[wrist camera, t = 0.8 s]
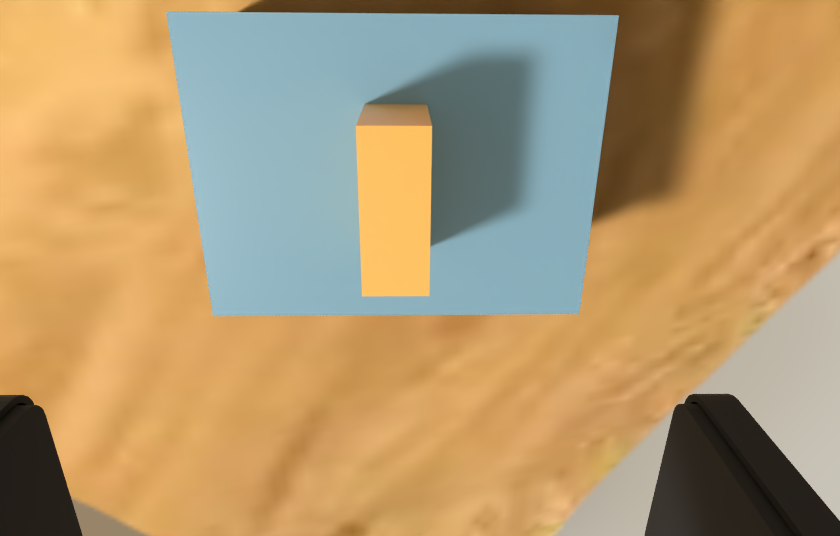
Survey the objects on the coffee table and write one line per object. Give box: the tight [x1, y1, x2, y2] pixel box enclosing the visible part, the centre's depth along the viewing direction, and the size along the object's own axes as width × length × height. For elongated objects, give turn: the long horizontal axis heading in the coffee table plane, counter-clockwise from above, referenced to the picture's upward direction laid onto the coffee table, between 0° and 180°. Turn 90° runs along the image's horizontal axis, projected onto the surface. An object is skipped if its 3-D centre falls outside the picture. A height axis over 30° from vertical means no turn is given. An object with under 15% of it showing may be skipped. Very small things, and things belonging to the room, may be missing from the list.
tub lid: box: [166, 12, 619, 316], centre depth 23 cm, size 16×12×6 cm
